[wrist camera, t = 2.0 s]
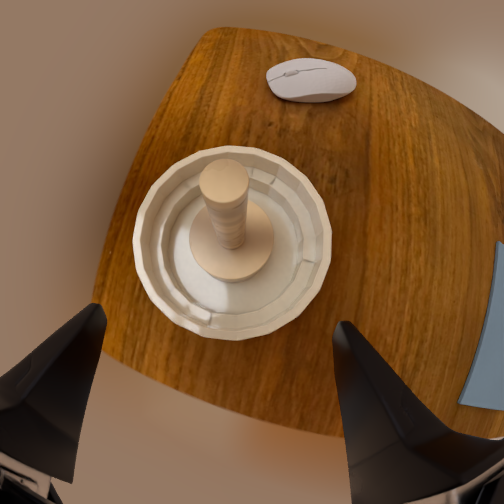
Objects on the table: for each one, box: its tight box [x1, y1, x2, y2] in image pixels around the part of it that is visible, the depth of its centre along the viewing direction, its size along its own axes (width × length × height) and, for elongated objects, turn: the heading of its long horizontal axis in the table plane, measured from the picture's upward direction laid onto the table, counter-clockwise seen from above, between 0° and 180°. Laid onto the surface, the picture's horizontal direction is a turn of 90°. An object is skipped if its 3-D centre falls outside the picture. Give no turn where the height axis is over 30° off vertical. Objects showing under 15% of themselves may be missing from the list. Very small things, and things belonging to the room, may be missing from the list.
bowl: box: [132, 146, 332, 341], centre depth 20 cm, size 13×13×4 cm
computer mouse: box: [266, 58, 356, 102], centre depth 24 cm, size 6×10×3 cm, turn 101°
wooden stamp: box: [189, 159, 274, 283], centre depth 15 cm, size 6×6×12 cm
